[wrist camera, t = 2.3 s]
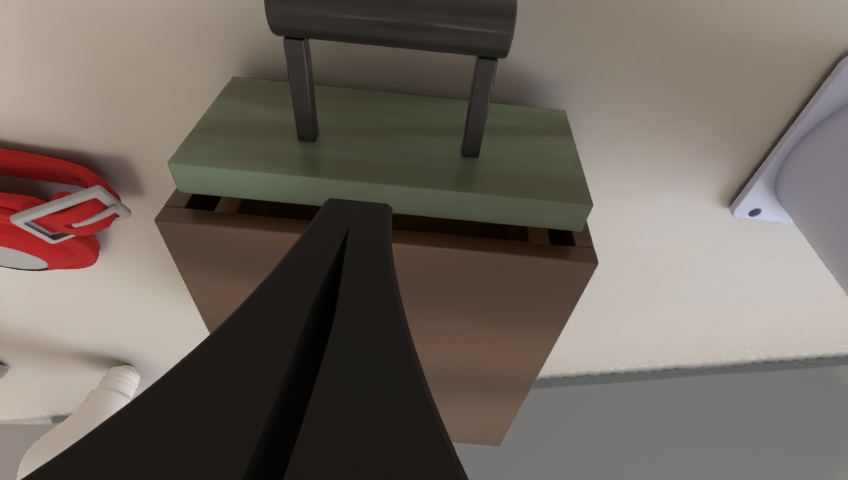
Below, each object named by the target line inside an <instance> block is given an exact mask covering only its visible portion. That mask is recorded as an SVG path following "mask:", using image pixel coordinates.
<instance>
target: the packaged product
mask: <svg viewBox="0 0 848 480" xmlns="http://www.w3.org/2000/svg"><path fill="white" fill-rule="evenodd" d="M8 370H9V369H8V368H6V367H4V366H2V365H1V364H0V380H1V379H2V378H3V377H4V376H5V374H6V373H7V372H8Z"/></svg>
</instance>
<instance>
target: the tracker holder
mask: <svg viewBox="0 0 848 480" xmlns="http://www.w3.org/2000/svg"><path fill="white" fill-rule="evenodd" d="M0 174H4V175H10V176H17V177H24V178H31V179H38V180H44V181H50V182H56V183H63V184H70V185H77V186H80V187H84V188H87V189H85V190H82V191H79V192H76V193H74V194H73V193H71V192H68V191H62V192H58V193H56V194H55V195H54V196H53V197H52V199H51V201H50V202H45V201H43V200H41V199H38V198H35V197H32V196H26V195H18V194H11V193H1V192H0V266H1V267H5V268H11V269H18V270H28V271H46V270H55V269H80V268H85V267H89V266H91V265H93V264H94V263H96V261H97V259H98V256H99V250H100V244H99V241H98V240H97V239H96V238H95V236H93V235H92V234H94V233H97V232H99V231H101V230H103V229H105V228H107V227H109V226H110V225H111V224H112V222H115V221H117V220H120V219H123V218H126V217H128V216H130V215H131V210H130V209H128V208H127V207H126V206H125V205H124V204H122V203H121V199H120V197H119V195H118V194H117V193H116V192H115V191H114V190H113V189H112V187H111V186H110V185H109V184H108V183H106V182H105V181H104V180H103V179H102V178H101V177H99V176H98V175H97V174H95V173H94V172H92V171H91V170H89V169H87V168H86V167H84V166H81V165H78V164H75V163H71V162H68V161H64V160H61V159H57V158H52V157H47V156H42V155H38V154H32V153H26V152H20V151H14V150H8V149H2V148H0Z"/></svg>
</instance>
